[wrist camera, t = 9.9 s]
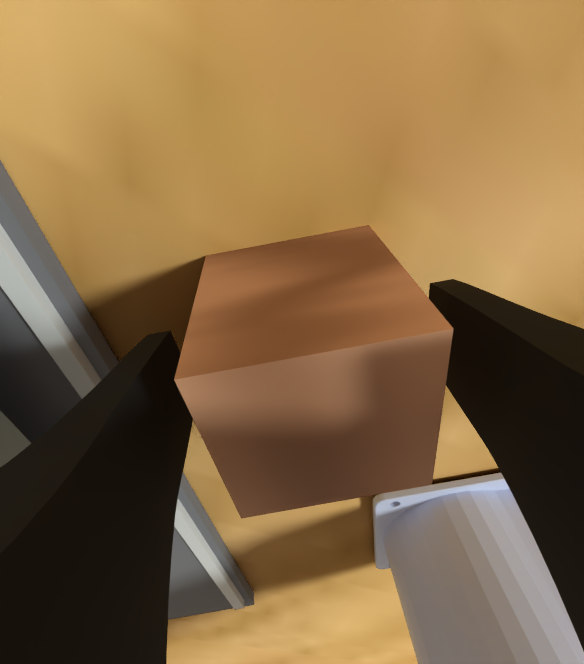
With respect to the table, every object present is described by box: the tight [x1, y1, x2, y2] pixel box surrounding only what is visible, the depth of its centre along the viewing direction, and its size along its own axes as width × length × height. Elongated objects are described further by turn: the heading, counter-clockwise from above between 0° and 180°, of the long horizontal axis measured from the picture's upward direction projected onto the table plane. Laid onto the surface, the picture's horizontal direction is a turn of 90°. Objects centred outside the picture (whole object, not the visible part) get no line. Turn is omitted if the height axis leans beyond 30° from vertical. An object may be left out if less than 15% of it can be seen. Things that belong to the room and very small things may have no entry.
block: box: [174, 225, 453, 518], centre depth 9 cm, size 4×4×5 cm
